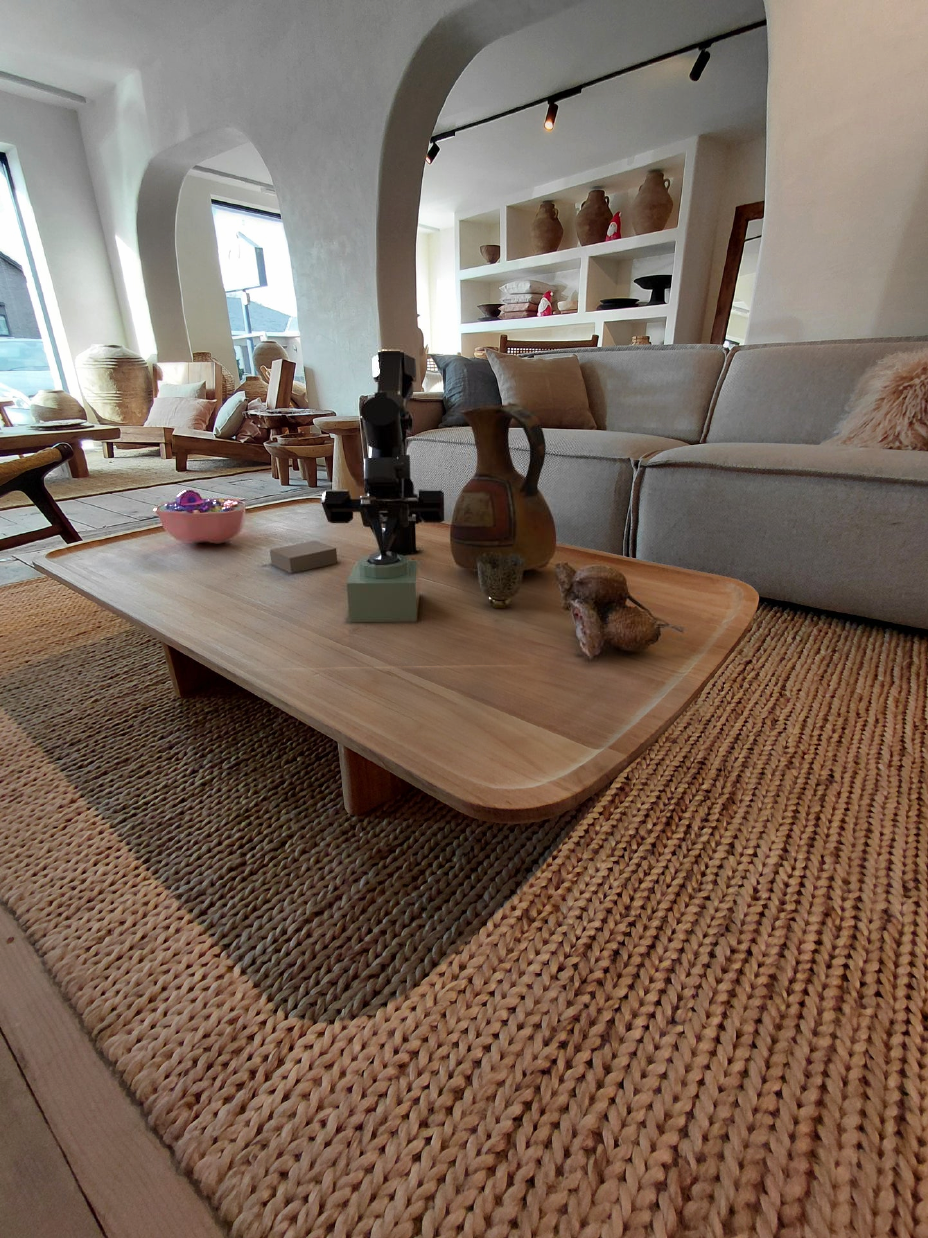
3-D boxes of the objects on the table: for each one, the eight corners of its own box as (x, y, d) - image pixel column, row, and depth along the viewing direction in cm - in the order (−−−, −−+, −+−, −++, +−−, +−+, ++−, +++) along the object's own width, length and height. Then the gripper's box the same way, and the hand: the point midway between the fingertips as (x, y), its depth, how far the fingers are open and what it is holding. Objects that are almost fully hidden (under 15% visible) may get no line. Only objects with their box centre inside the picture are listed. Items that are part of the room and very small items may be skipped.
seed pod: (578, 567, 89) (528, 559, 77) (685, 563, 79) (647, 552, 67) (576, 653, 89) (526, 657, 77) (683, 659, 79) (645, 665, 67)
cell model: (211, 558, 117) (201, 502, 112) (144, 546, 125) (132, 493, 120) (270, 538, 131) (264, 488, 126) (206, 529, 139) (198, 481, 134)
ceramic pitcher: (485, 549, 123) (488, 399, 111) (572, 566, 112) (585, 401, 100) (428, 572, 108) (424, 402, 96) (521, 594, 97) (530, 405, 86)
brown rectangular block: (316, 554, 119) (315, 540, 118) (337, 562, 114) (336, 548, 113) (271, 564, 113) (269, 549, 112) (291, 573, 107) (289, 558, 106)
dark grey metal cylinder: (371, 566, 91) (370, 551, 90) (399, 566, 91) (398, 551, 90) (368, 575, 87) (367, 559, 86) (397, 575, 87) (396, 559, 86)
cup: (527, 600, 94) (529, 553, 91) (516, 617, 88) (518, 566, 85) (484, 595, 97) (484, 549, 93) (470, 611, 90) (470, 561, 87)
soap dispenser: (359, 596, 96) (355, 550, 93) (419, 596, 96) (417, 549, 93) (349, 622, 86) (345, 571, 83) (416, 621, 86) (414, 570, 83)
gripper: (318, 435, 86) (309, 525, 80) (443, 435, 86) (444, 524, 80) (331, 480, 96) (325, 563, 90) (443, 480, 97) (444, 562, 91)
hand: (383, 553), depth 88 cm, fingers closed, pressing on dark grey metal cylinder
